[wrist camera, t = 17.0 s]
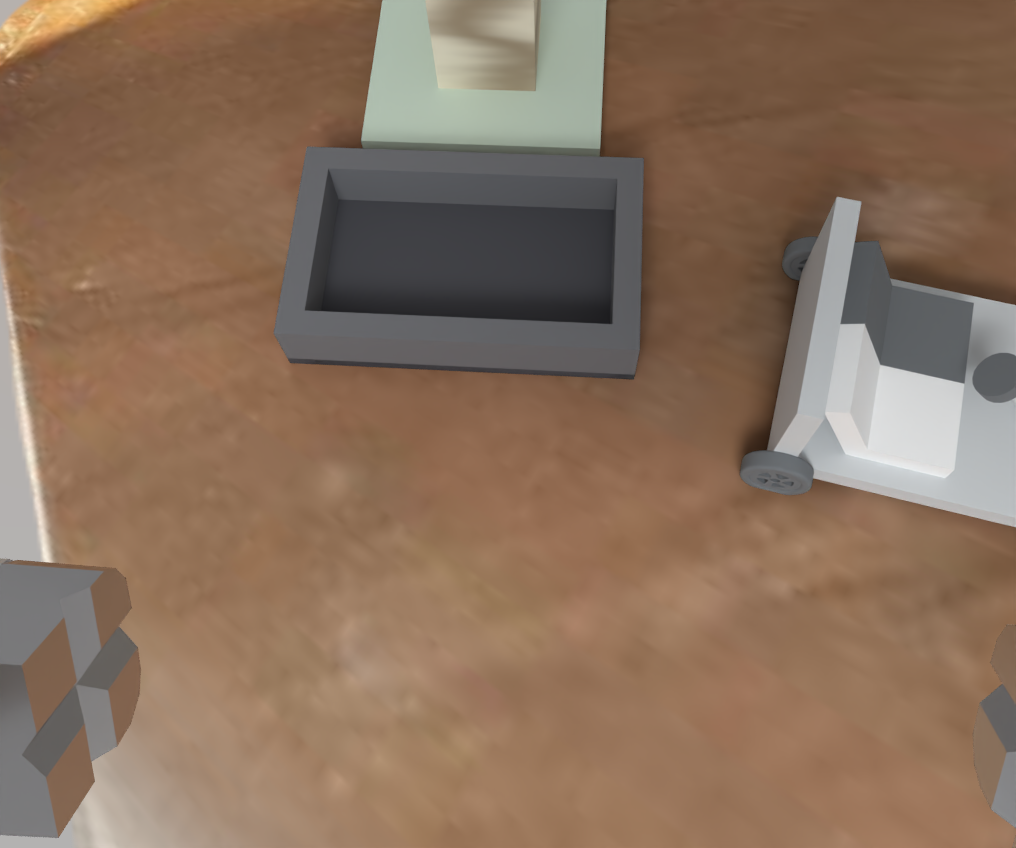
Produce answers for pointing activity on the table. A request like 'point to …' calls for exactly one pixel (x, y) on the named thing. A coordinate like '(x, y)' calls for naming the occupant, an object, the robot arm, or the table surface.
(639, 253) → the tray
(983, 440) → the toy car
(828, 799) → the table surface
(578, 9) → the pad
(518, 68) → the birch block
